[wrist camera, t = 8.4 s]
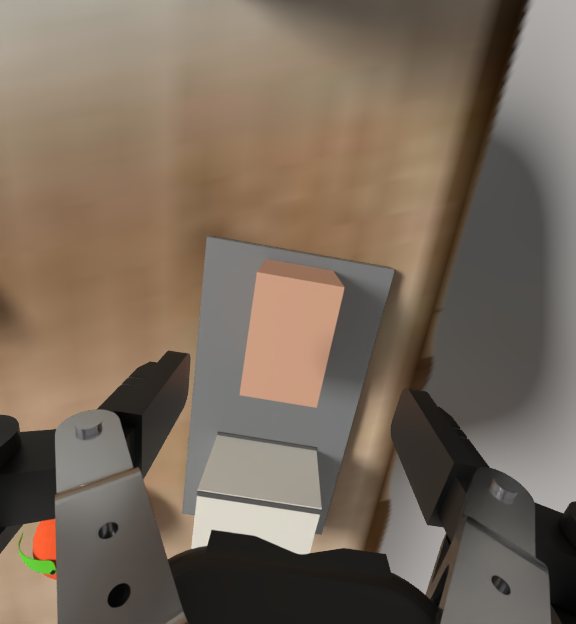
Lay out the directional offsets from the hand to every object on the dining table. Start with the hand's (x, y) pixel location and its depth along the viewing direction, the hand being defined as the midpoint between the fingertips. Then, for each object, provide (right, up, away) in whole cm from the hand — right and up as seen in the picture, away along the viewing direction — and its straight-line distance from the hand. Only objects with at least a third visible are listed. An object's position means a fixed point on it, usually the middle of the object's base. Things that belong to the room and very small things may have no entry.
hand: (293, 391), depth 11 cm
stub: (0, +3, +12) cm, 13 cm away
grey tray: (-1, -5, +16) cm, 17 cm away
